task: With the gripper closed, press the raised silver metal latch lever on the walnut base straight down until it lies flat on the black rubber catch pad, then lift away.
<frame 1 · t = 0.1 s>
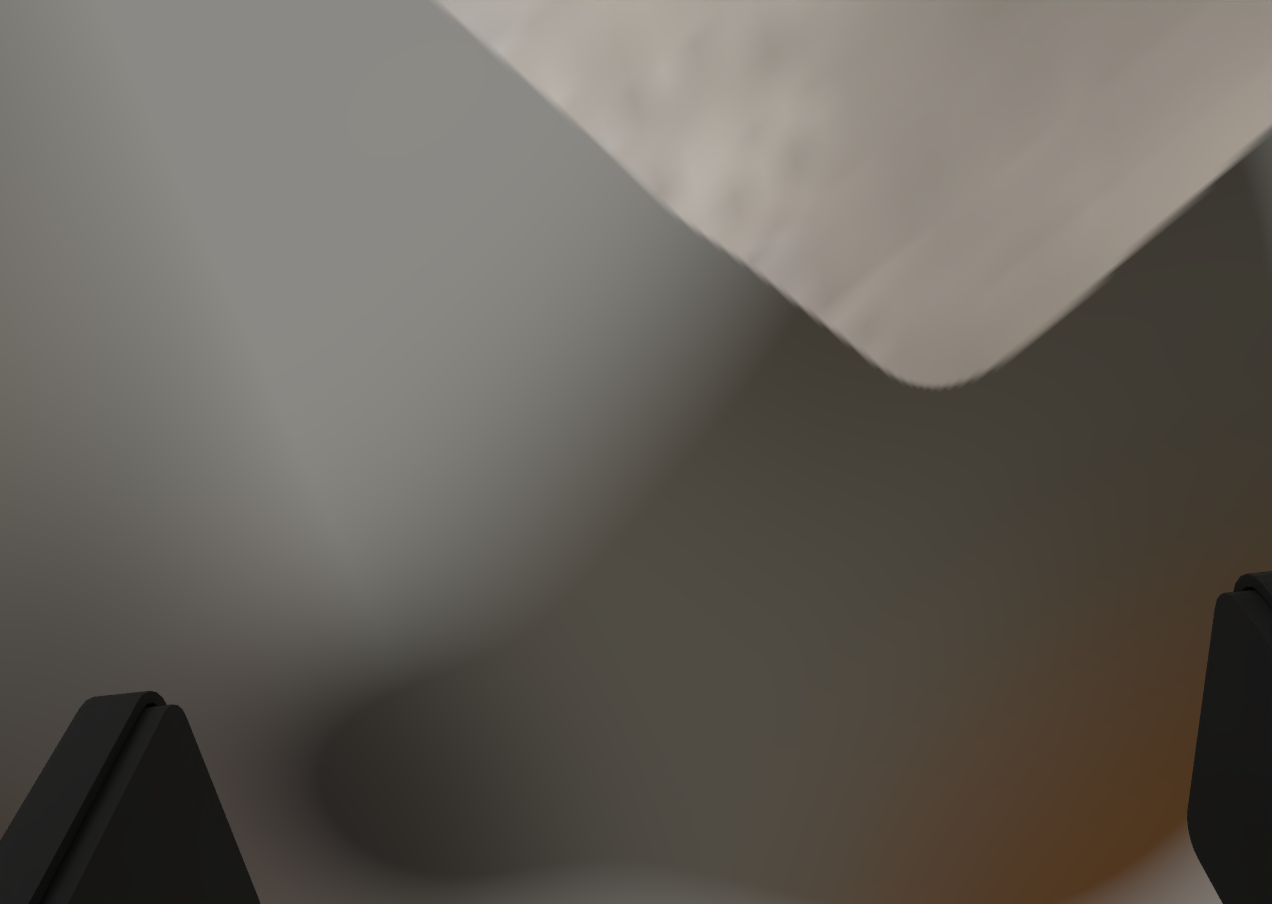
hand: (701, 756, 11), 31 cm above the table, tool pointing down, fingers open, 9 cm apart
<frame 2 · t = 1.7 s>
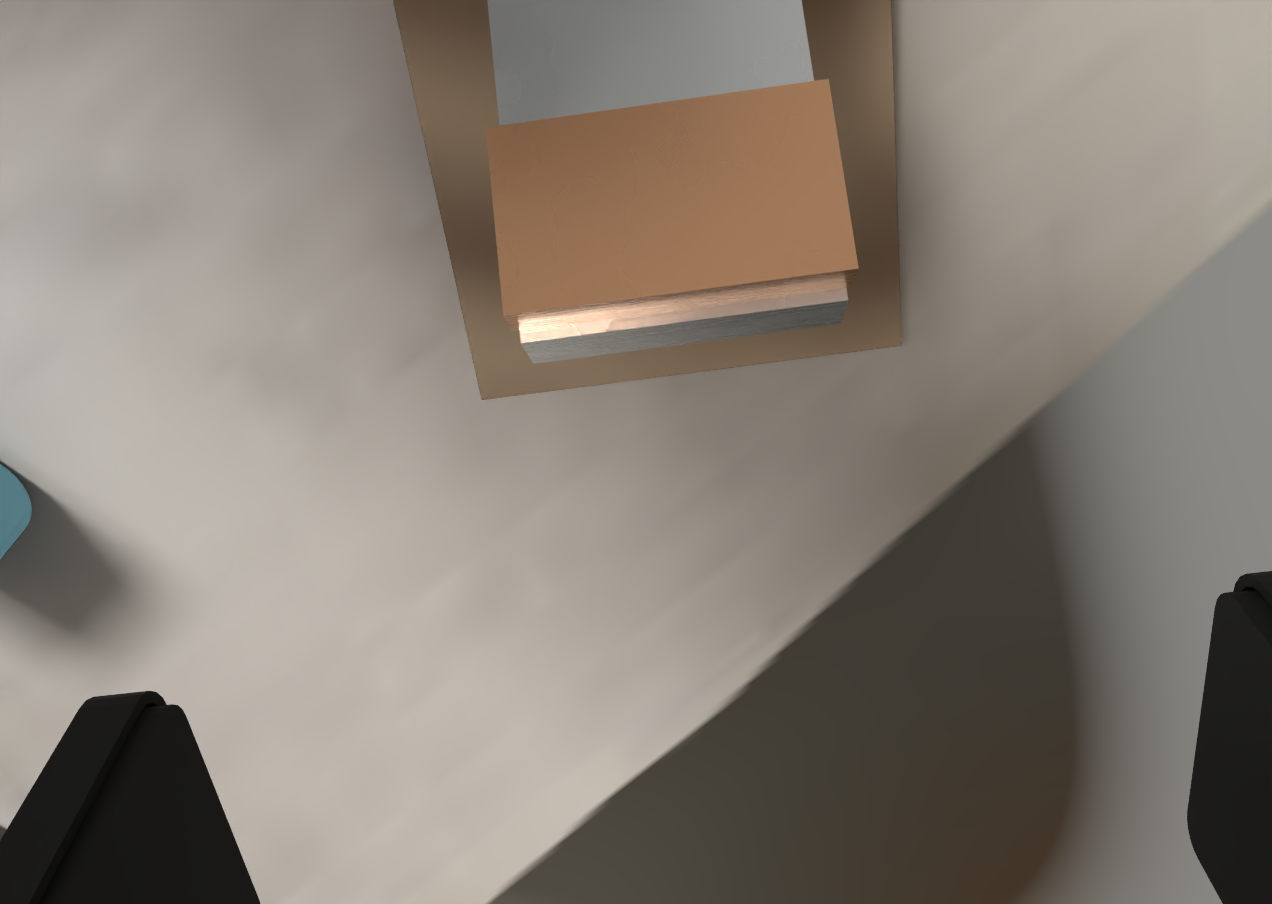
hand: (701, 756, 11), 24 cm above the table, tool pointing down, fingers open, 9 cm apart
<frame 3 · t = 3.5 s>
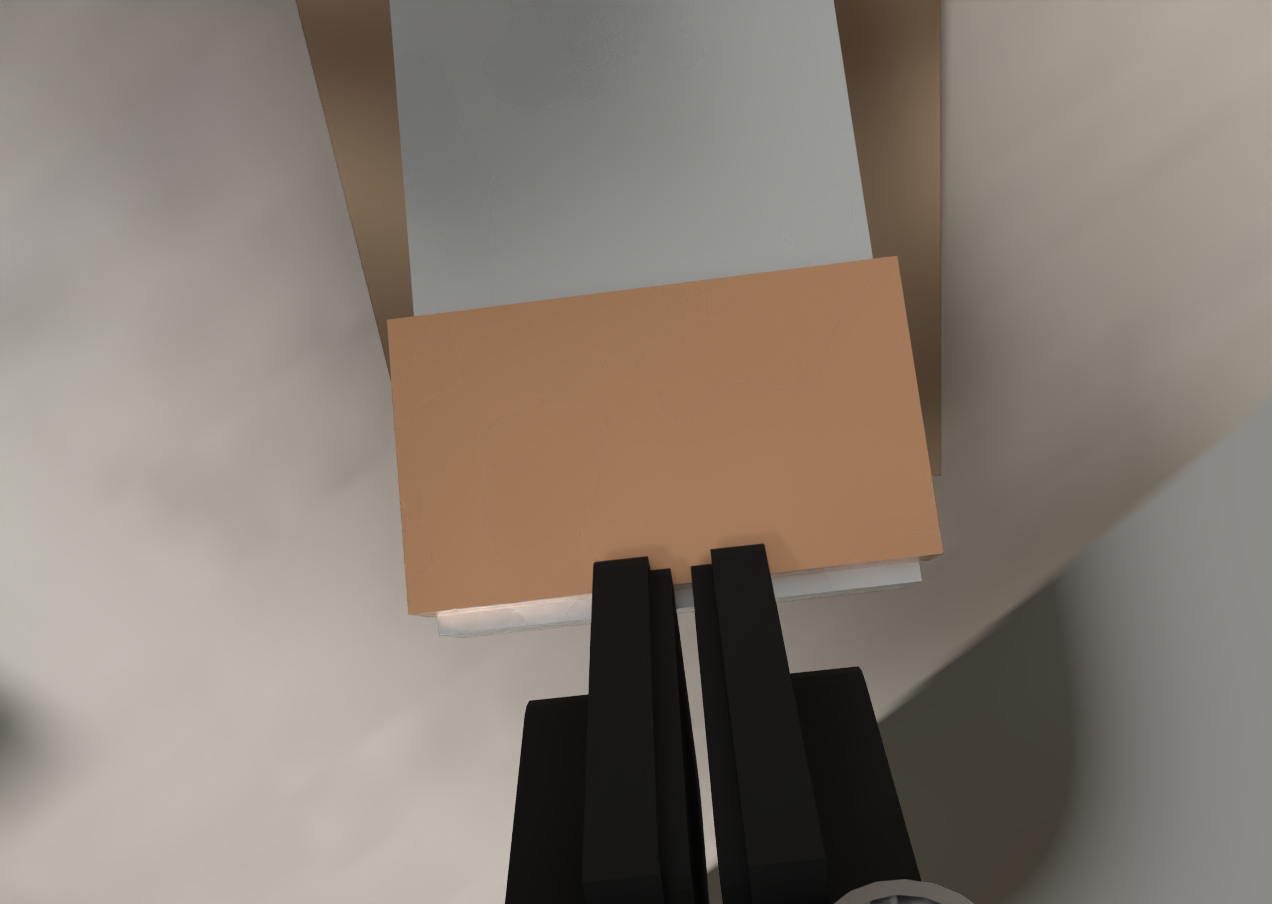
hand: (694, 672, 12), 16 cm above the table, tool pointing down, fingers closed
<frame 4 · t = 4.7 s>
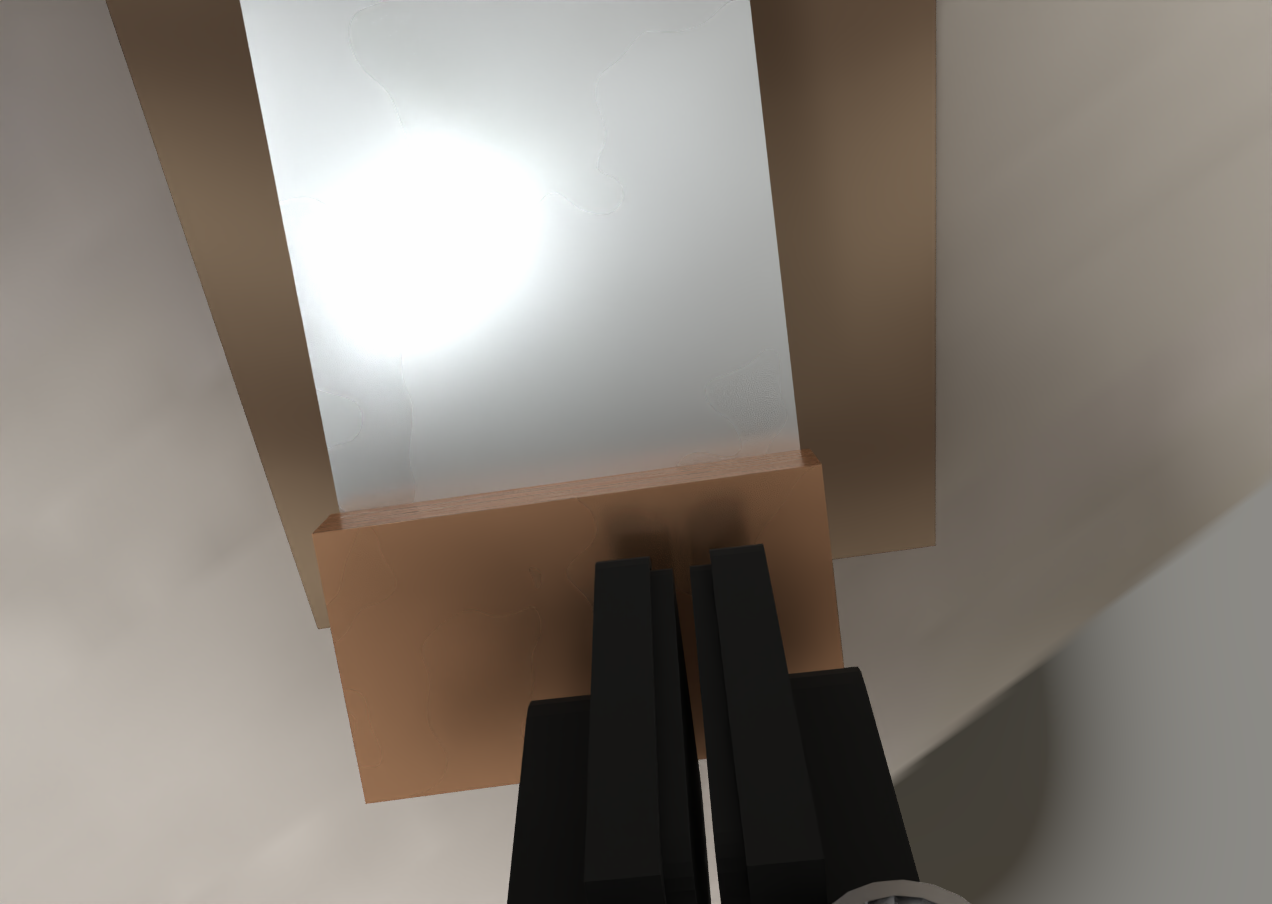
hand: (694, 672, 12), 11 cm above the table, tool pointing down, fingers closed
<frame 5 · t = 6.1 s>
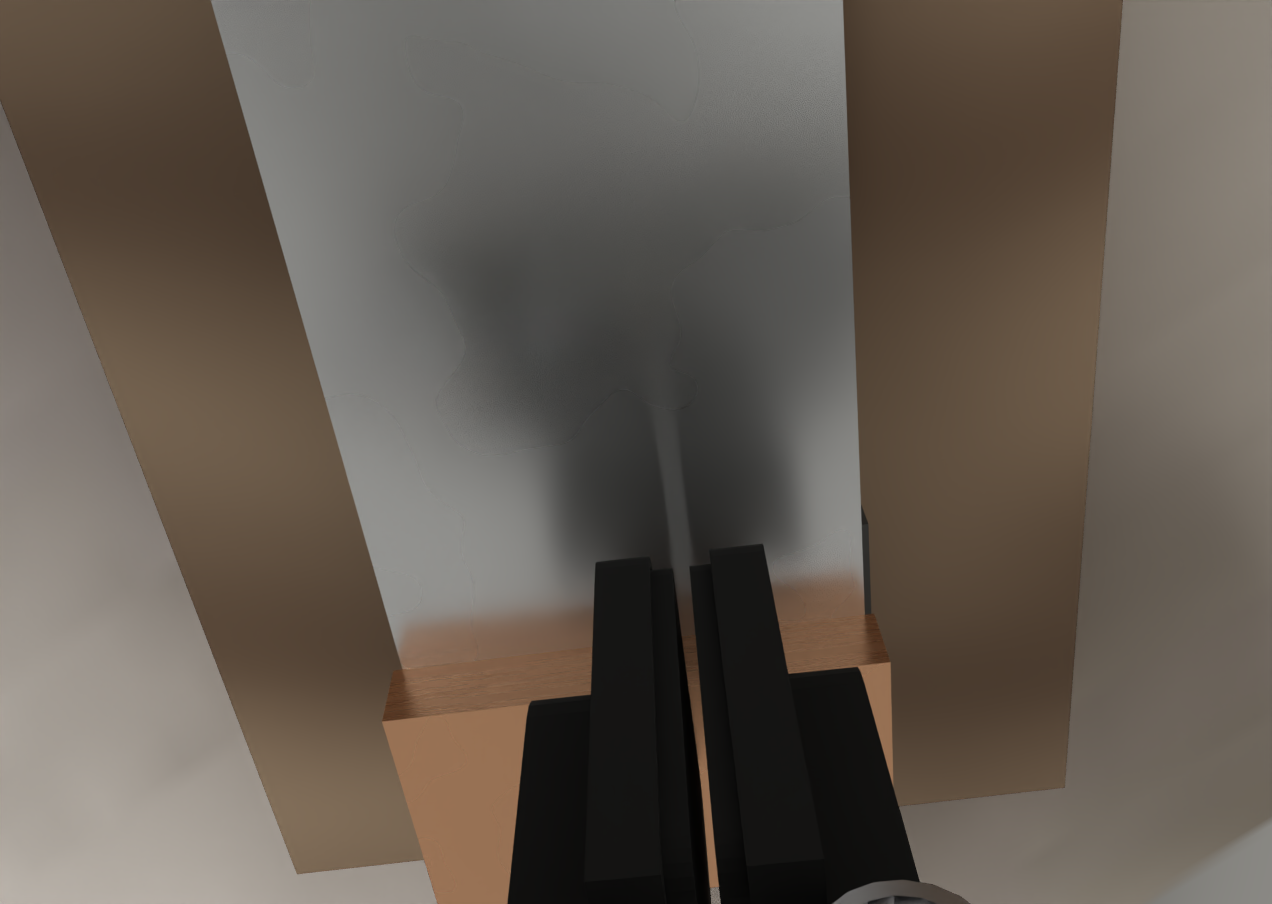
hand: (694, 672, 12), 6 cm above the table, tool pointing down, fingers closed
latch lever: (554, 149, 10), point 5 cm above the table, hinge at -0.2°, touching gripper
latch base: (572, 84, 15), on the table
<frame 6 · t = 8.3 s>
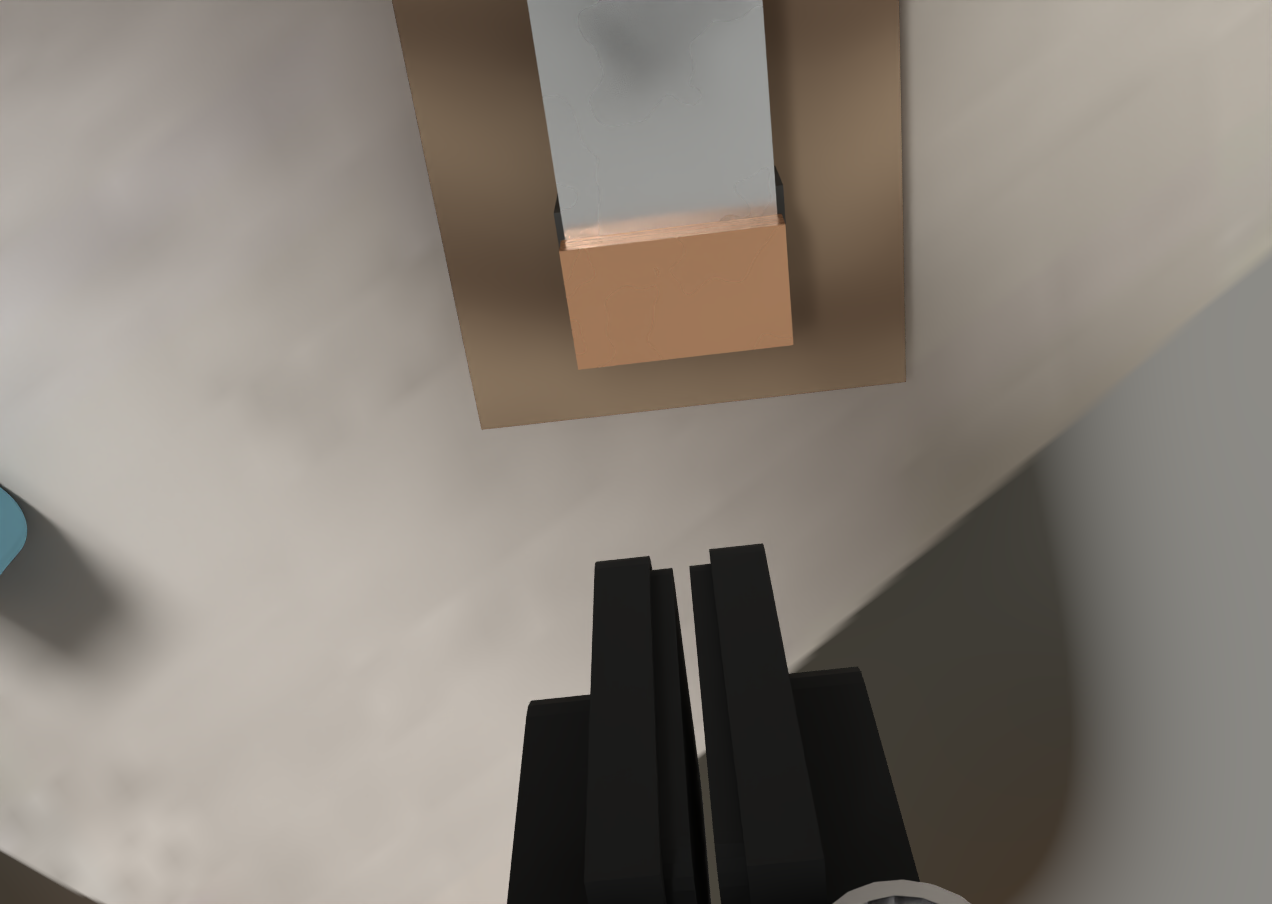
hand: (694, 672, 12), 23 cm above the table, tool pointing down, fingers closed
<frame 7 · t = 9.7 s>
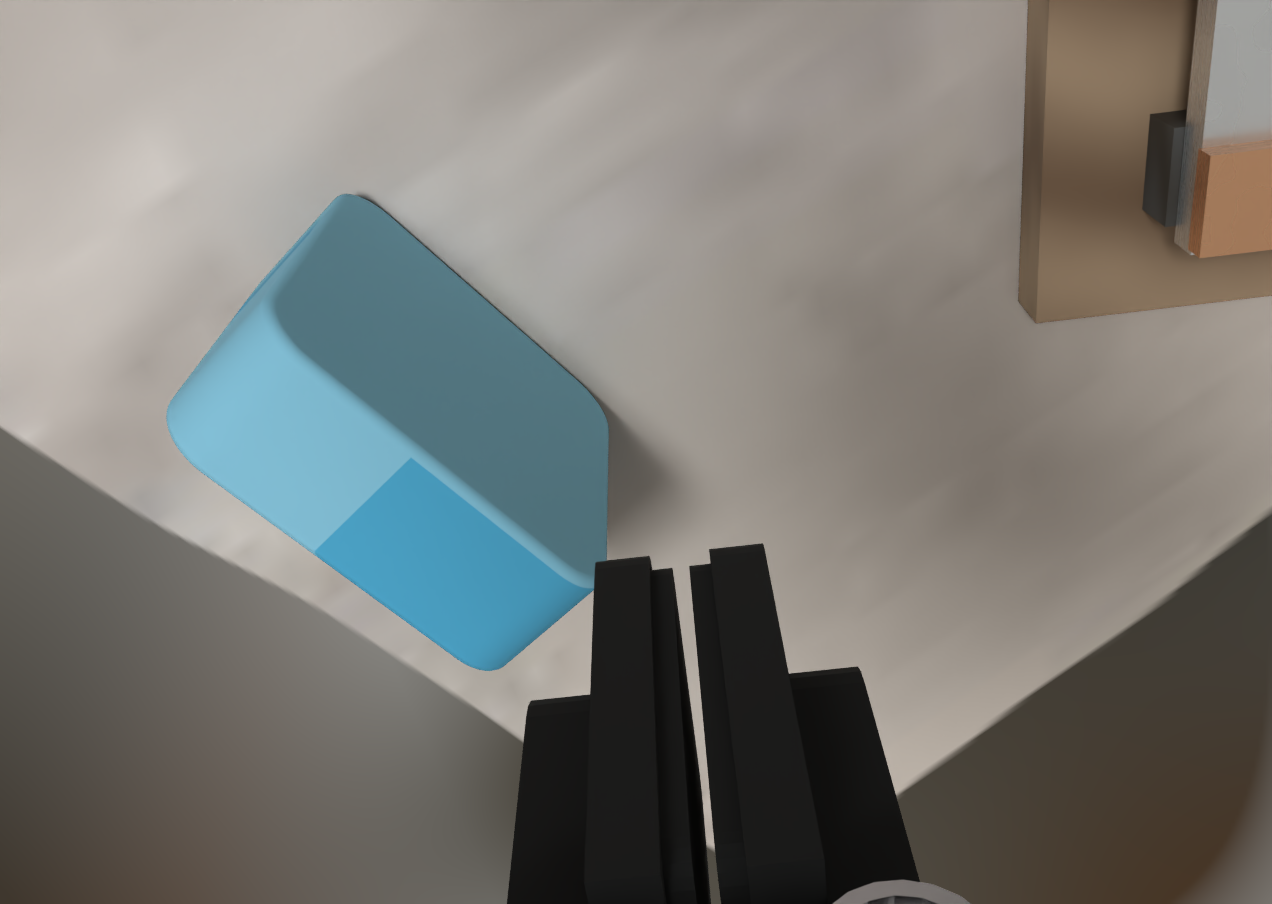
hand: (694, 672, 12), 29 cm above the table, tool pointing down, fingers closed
blue rounded block: (446, 339, 42), on the table
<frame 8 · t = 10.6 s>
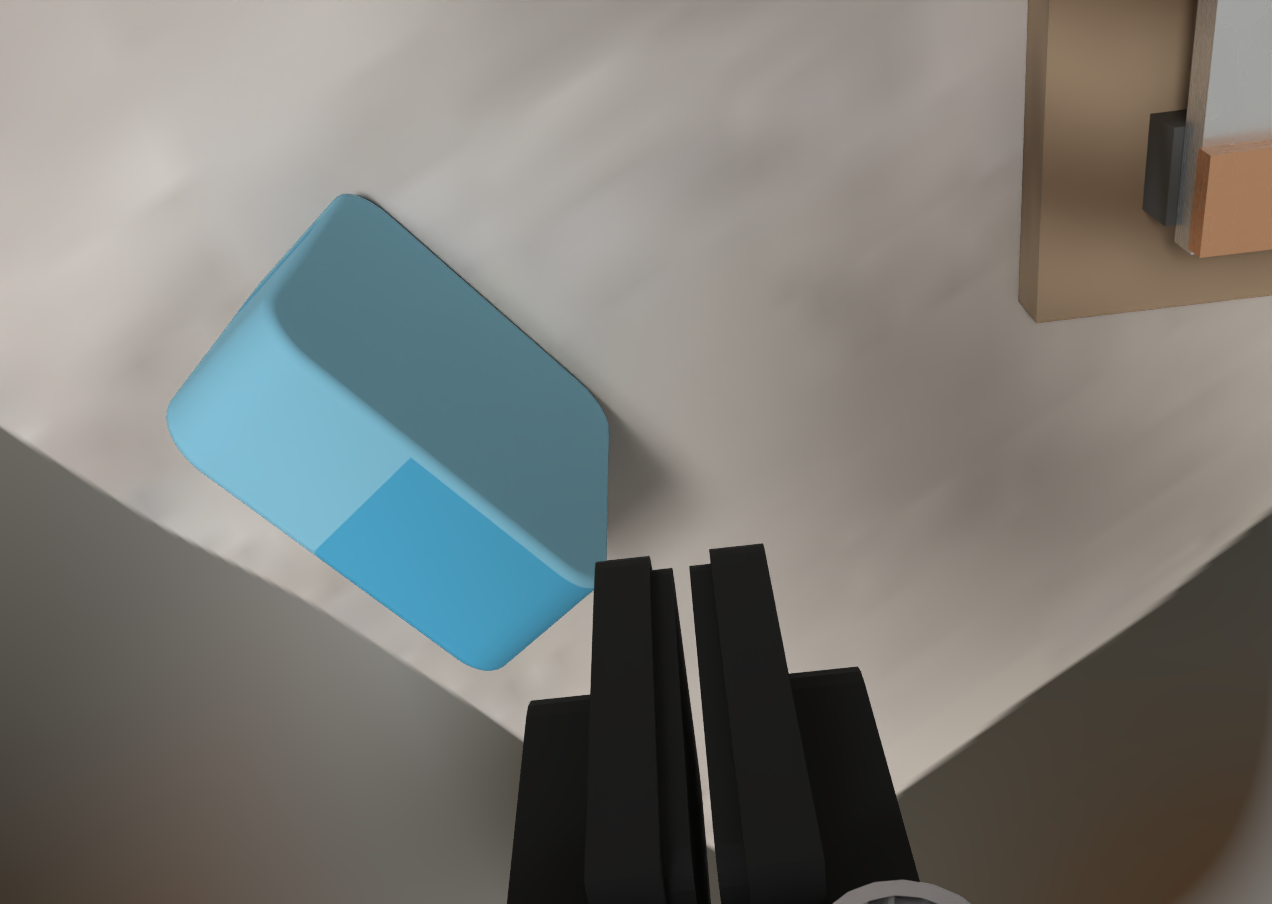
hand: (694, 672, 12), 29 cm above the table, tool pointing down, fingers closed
blue rounded block: (446, 339, 42), on the table
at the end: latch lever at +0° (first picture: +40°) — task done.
